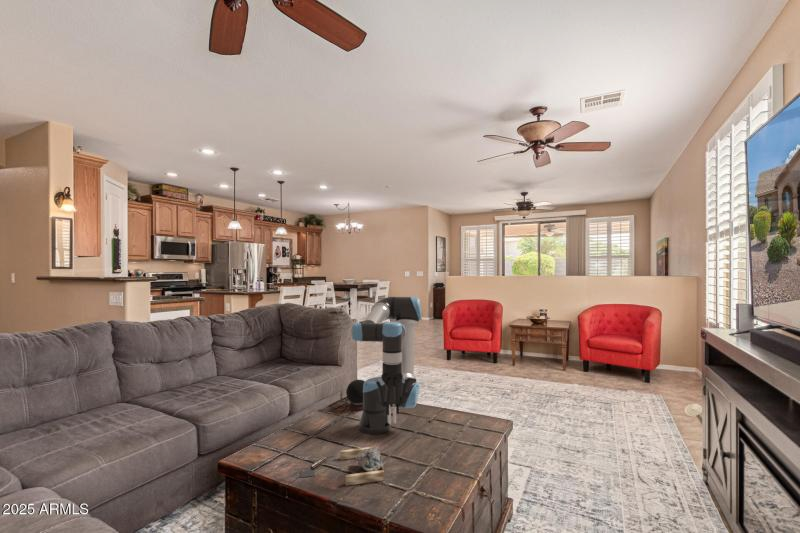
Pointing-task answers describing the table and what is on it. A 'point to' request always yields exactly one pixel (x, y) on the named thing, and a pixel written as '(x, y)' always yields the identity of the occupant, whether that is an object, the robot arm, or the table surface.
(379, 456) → the mineral specimen
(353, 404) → the black round piece
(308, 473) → the dark gray rectangular slab
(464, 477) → the table surface
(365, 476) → the wooden slats
